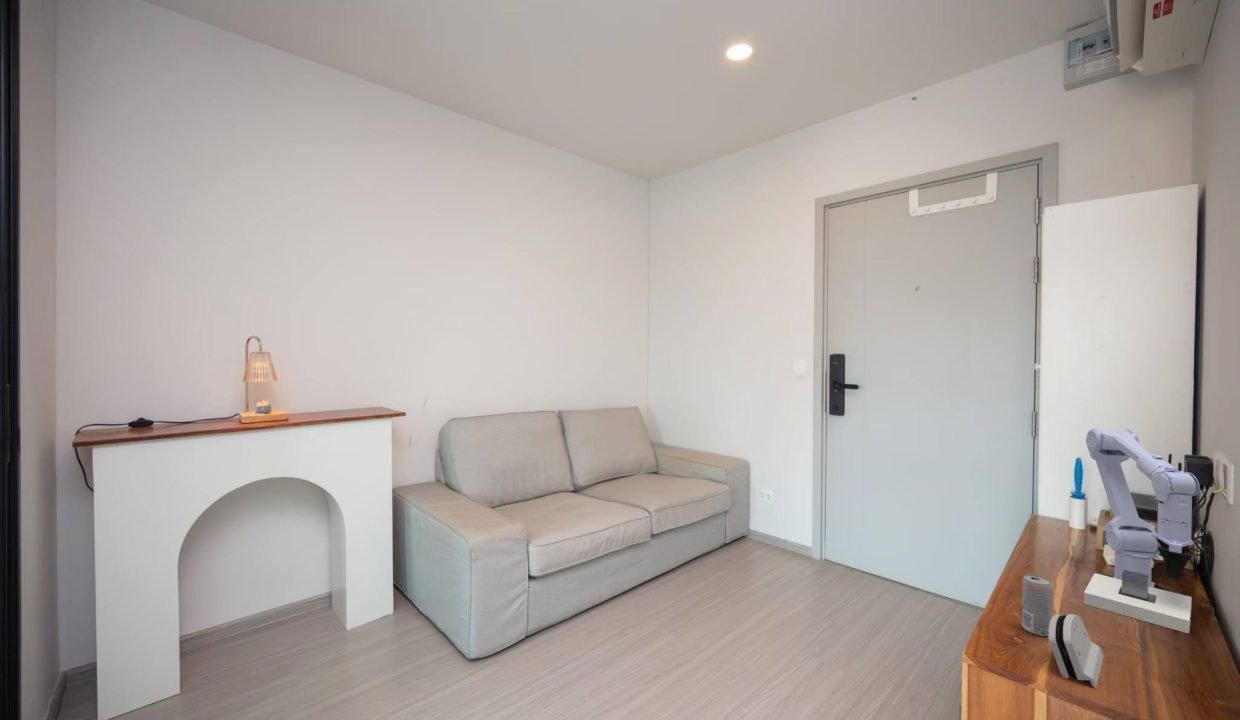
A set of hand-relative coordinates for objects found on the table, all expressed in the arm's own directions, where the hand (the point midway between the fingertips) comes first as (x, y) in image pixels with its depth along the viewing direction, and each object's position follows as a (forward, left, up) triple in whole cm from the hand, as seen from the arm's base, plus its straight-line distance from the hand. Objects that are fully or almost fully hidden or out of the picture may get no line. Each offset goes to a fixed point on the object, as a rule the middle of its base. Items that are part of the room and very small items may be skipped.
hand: (1173, 573), depth 126 cm
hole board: (+4, -6, -9) cm, 12 cm away
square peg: (+4, -6, -10) cm, 12 cm away
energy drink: (+39, -20, -10) cm, 45 cm away
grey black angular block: (+48, -12, -10) cm, 51 cm away
